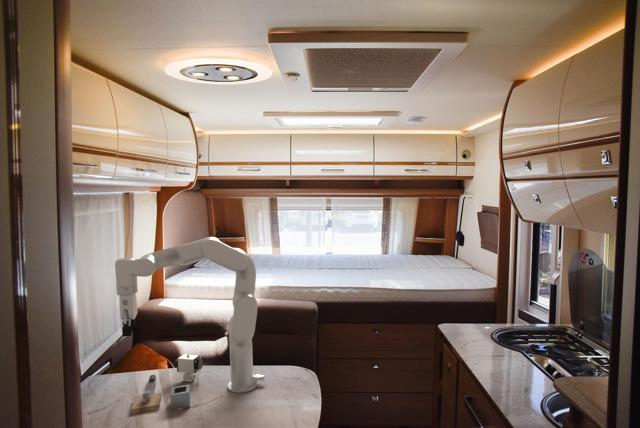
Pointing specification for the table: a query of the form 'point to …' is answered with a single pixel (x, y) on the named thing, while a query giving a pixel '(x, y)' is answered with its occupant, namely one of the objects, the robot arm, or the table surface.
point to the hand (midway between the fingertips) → (129, 331)
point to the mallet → (147, 398)
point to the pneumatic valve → (188, 365)
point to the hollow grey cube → (180, 397)
